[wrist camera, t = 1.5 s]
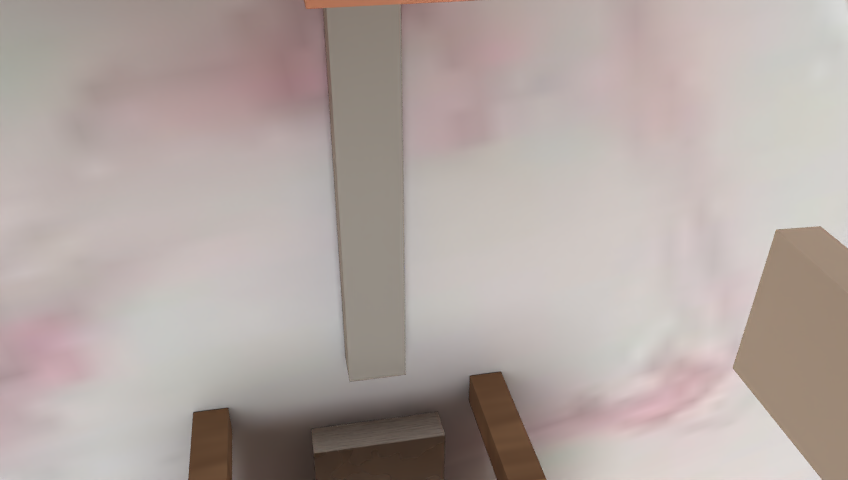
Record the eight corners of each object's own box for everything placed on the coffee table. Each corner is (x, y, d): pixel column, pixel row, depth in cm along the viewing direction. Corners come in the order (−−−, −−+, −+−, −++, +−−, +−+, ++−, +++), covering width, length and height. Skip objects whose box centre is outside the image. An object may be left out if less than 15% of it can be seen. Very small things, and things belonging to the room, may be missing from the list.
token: (310, 422, 37) (313, 453, 35) (436, 405, 38) (445, 435, 36) (318, 508, 40) (321, 541, 38) (434, 491, 41) (442, 522, 39)
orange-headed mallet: (272, -222, 23) (289, -209, 15) (423, -222, 24) (522, -209, 15) (321, 360, 34) (347, 554, 26) (422, 348, 35) (478, 532, 27)
